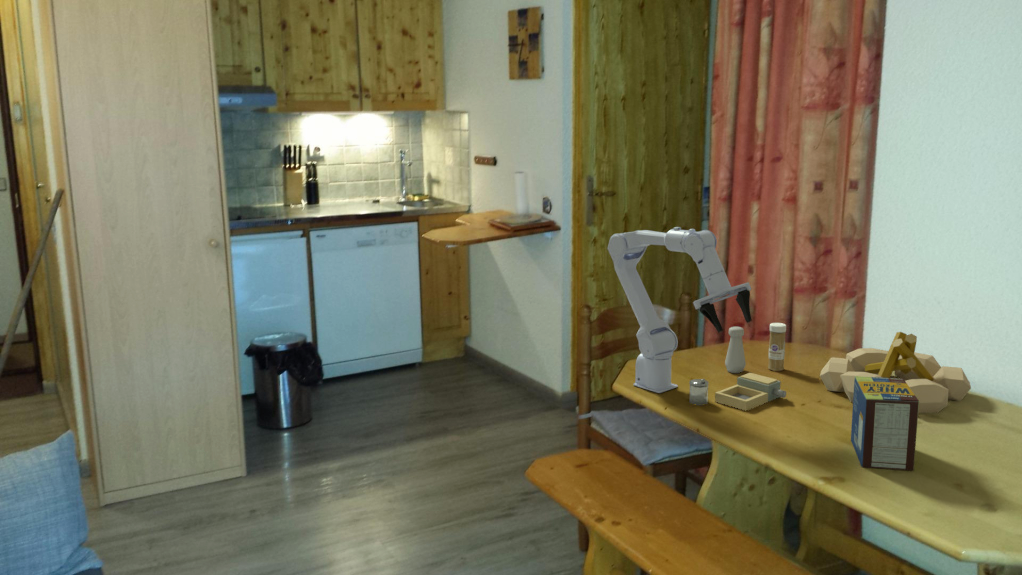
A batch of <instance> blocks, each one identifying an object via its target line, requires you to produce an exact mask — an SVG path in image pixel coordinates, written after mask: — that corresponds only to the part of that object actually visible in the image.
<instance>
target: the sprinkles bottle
mask: <svg viewBox="0 0 1022 575" xmlns="http://www.w3.org/2000/svg"><path fill="white" fill-rule="evenodd" d="M786 332H787V324H785V323H782V322H771V323H770V324H769V344H768V365H767V368H768V370H771V371H774V372H780V371H783V370H785V366H784V365H785V354H786V352H785V350H786V348H785V347H786Z"/></svg>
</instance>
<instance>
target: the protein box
mask: <svg viewBox="0 0 1022 575" xmlns="http://www.w3.org/2000/svg"><path fill="white" fill-rule="evenodd" d="M918 409H919V400H918V399H917V397H916V396H915V394H914V393H913V392H912V390H911V389H910V387H909V386H908V384H907V383H906V382H905V380H904V379H903V378H899V377H890V378H881V377H861V376H855V380H854V396H853V403H852V414H851V430H850V431H851V432H850V442H851V444H852V447H853V448H854V451H855V454H856V456H857V459H858V462H859V465H860V466H861V467H862V468H867V469H868V468H870V469H886V470H895V471H896V470H899V471H914V470H915V456H916V445H917V433H918V418H919V413H918Z"/></svg>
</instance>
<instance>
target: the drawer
mask: <svg viewBox="0 0 1022 575" xmlns="http://www.w3.org/2000/svg"><path fill="white" fill-rule="evenodd" d="M786 396H787V391H786V390H784V389H781V380H778V379H776V378H773V377H768V376H765V375H762V374H761V375H760V374H756V373H753V372H747V373H746V374H743V375H740V376H738V377H737V378H736V384H734V385H732V386H729V387H726V388H724V389H722V390H718V391H716V392H714V402H715V401H716V402H715V403H717V402H718V403H717V404H721V405H724V404H725V406H727V405H729V406H728V407H731V406H733V407H732V408H734V407H735V408H734V409H737V408H738V410H741V409H742V410H741V411H744V410H745V411H744V412H747V411H746V410H748V411H750V410H752V409H755V408H757V407H760V406H762V405H764V403H765V404H766V402H767V403H769V402H772V401H774V400H776V398H777V399H779V398H783V399H785V398H786ZM773 399H774V400H773ZM771 400H772V401H771ZM768 401H769V402H768ZM759 405H760V406H759ZM756 406H757V407H756ZM754 407H755V408H754ZM751 408H752V409H751ZM749 409H750V410H749Z"/></svg>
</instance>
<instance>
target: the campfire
mask: <svg viewBox="0 0 1022 575" xmlns="http://www.w3.org/2000/svg"><path fill="white" fill-rule="evenodd" d="M917 338H918V337H917V335H915V334H913V333H910V334H906V333H904V332H902V331H897V332H896V333H895V336H894V338H893V340H892V342H891V344H890V347H889V349H888V350H886V349H885V350H884V349H881V348H880V349H879V348H874V347H867V348H861V347H860V348H859V347H858V348H857V349H854V350H853V351H850V352H848V353H846V355H845V356H846V357H845V358H844V357H843V358H841V357H834V356H833V357H830V358H829V360H828V362H826V363H825V365H824V367H823V368H821V370H820V373H819V374H820V375H819V377H820V379H821V381H822V383H823V384H824V386H825V388H826V390H828V391H831V392H836V393H837V392H840V393H845V394H846V396H847V399H848V400H849V402H850V403H851V402H852V404H853V396H854V380H855V376H861V377H881V378H892V377H891V376H892V375H893V372H894V376H896V378H903V379H904V380H905V382H906V383H907V384H908V386H909V387H910V389H911V390H912V392H913V393H914V394H915V396H916V397H917V399H918V400H919V409H918V414H938V413H939V412H940V411H942V410H943V409H944V408H946V407H947V406H948V403H949V401H957V402H959V401H962V400H963V399H964V398H965V396H967V394H968V392H969V391H970V390H971V389H972V387H971V382H970V381H969V379H968V377H967V375H966V373H965V372H964V370H963V368H962V367H957V366H947V365H946V366H944V365H940V364H939V362H938V361H937V359H936V358H935V357H934V355H931V354H926V353H920V352H915V350H916V348H917V347H916V346H917V341H918V340H917Z"/></svg>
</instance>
